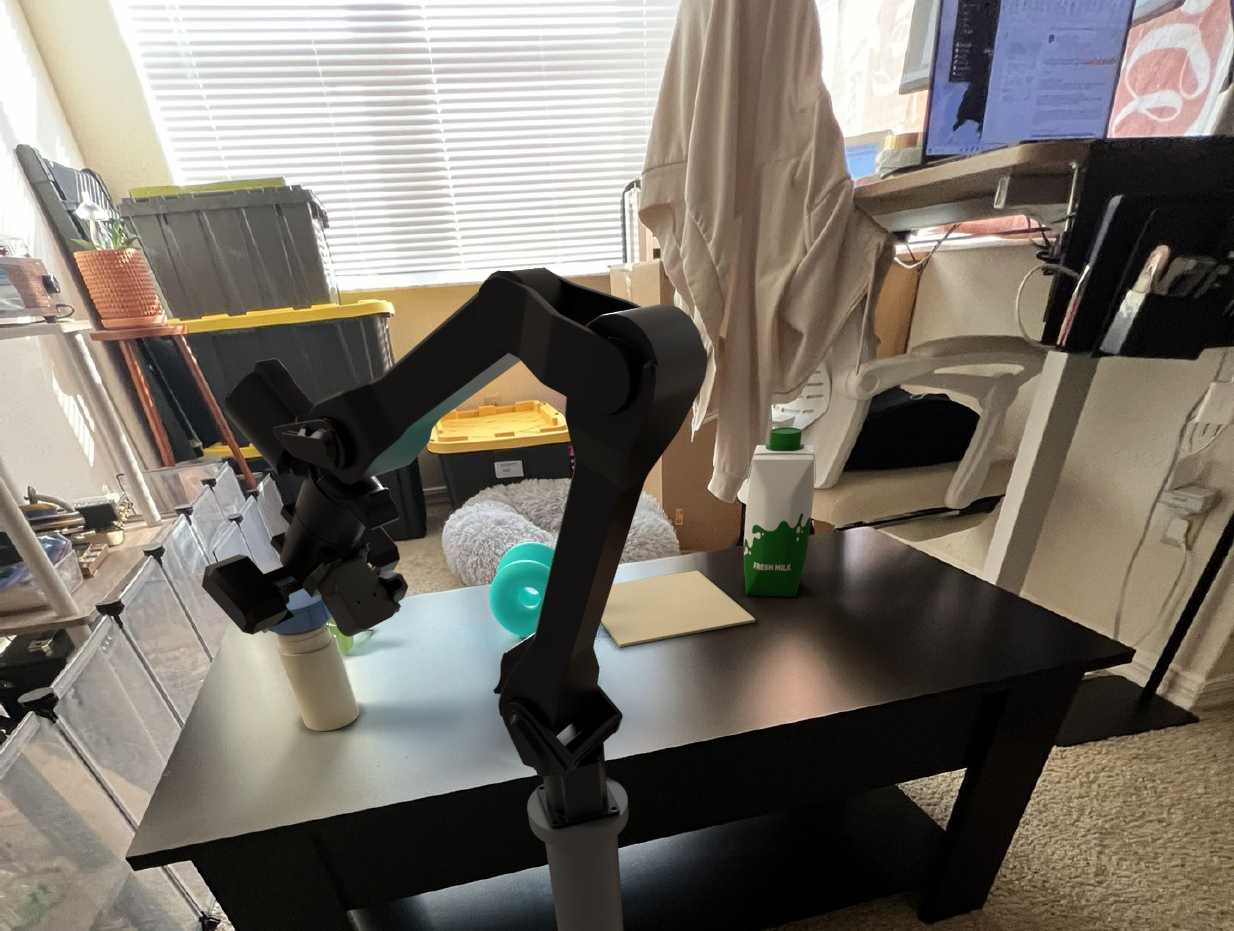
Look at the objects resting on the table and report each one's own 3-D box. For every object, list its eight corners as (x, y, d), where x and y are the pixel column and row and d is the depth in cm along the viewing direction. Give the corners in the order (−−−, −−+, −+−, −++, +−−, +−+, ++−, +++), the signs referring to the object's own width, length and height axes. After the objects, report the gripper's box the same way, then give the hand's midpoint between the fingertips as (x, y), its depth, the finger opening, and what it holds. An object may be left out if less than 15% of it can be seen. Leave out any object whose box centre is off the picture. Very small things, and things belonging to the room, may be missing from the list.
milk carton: (803, 576, 107) (820, 426, 95) (802, 600, 101) (820, 441, 88) (743, 575, 109) (753, 427, 97) (738, 598, 102) (748, 442, 90)
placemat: (755, 622, 96) (755, 619, 96) (619, 647, 92) (619, 644, 92) (697, 572, 111) (697, 570, 111) (578, 592, 107) (578, 590, 107)
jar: (360, 724, 80) (330, 631, 73) (303, 735, 79) (268, 641, 72) (358, 699, 84) (330, 609, 77) (305, 709, 83) (271, 618, 76)
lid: (277, 609, 77) (269, 588, 75) (339, 605, 77) (333, 584, 75) (255, 635, 72) (247, 613, 70) (322, 631, 72) (315, 609, 70)
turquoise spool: (574, 609, 102) (567, 537, 96) (570, 640, 94) (562, 563, 88) (504, 612, 102) (493, 540, 96) (494, 643, 95) (481, 567, 88)
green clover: (369, 673, 100) (330, 667, 95) (346, 625, 102) (307, 617, 96) (401, 643, 97) (364, 635, 91) (378, 594, 99) (339, 583, 93)
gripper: (310, 631, 58) (269, 718, 70) (461, 557, 70) (405, 642, 82) (211, 519, 57) (186, 627, 68) (383, 463, 69) (337, 563, 80)
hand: (289, 616), depth 75 cm, fingers closed on lid, 6 cm apart
